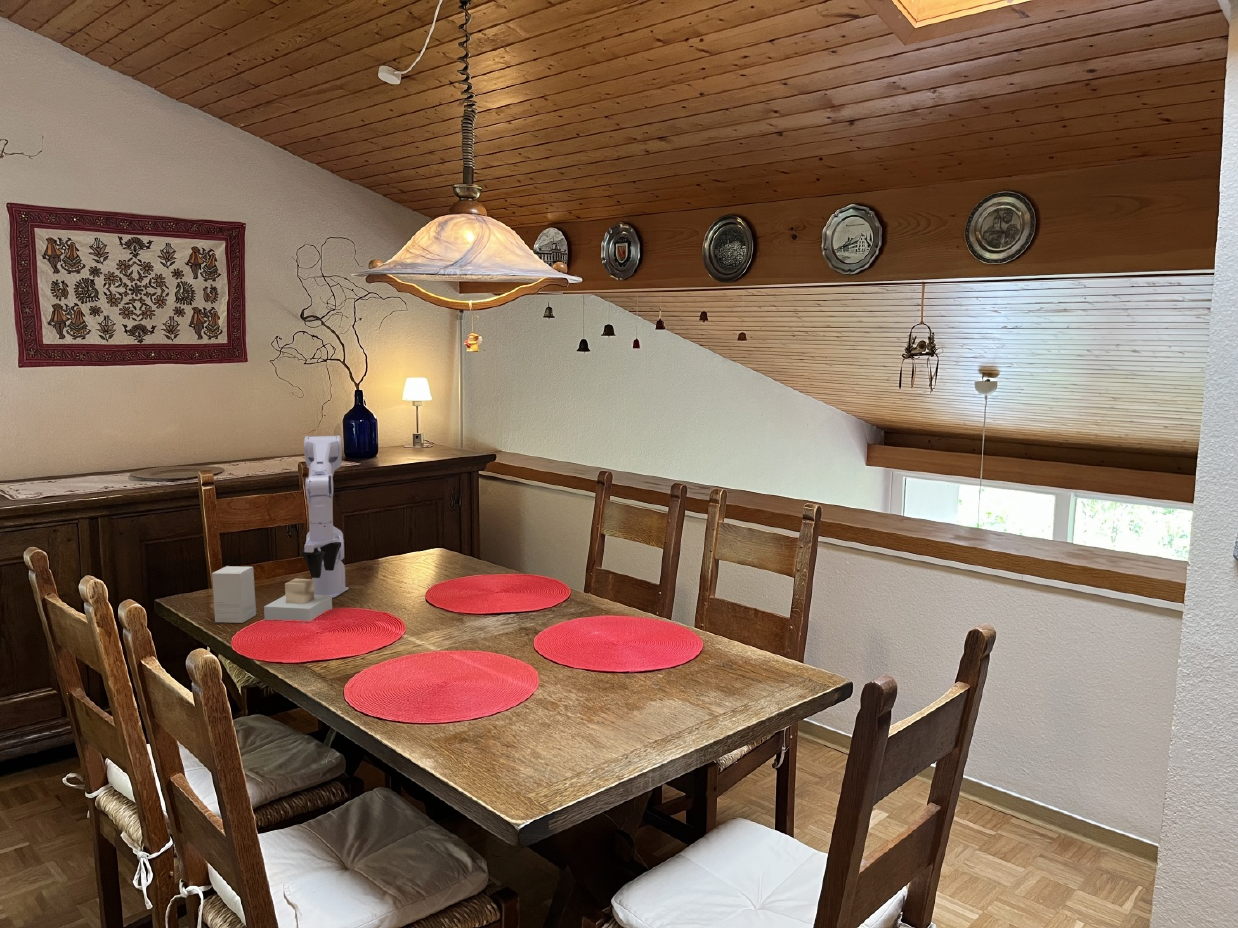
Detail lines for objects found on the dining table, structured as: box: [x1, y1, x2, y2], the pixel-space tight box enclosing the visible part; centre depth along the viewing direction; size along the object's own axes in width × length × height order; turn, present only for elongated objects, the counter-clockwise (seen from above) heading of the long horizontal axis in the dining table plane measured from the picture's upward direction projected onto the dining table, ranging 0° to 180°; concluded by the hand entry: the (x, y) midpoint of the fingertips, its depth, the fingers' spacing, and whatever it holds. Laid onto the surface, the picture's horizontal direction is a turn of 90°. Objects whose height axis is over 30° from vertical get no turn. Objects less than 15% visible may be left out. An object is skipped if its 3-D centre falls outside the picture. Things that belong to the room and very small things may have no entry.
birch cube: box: [284, 578, 314, 604], centre depth 231 cm, size 5×5×5 cm
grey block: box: [263, 594, 333, 621], centre depth 232 cm, size 12×12×4 cm
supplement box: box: [211, 565, 257, 624], centre depth 227 cm, size 7×7×13 cm
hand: (322, 573), depth 235 cm, fingers open, 7 cm apart
